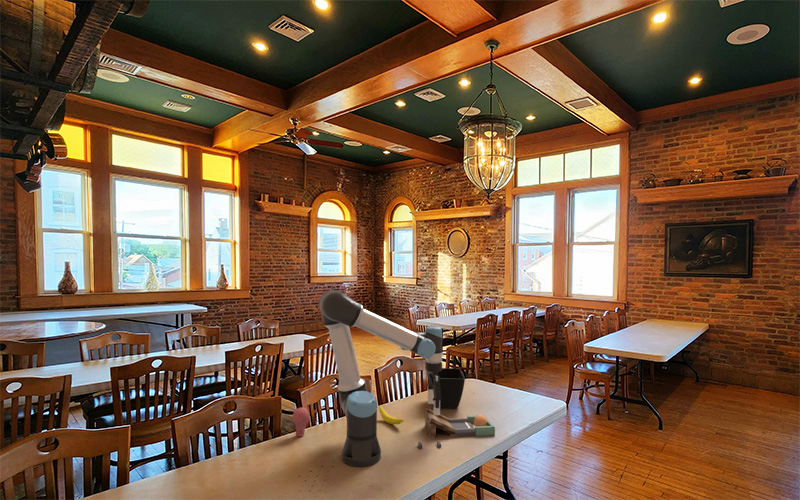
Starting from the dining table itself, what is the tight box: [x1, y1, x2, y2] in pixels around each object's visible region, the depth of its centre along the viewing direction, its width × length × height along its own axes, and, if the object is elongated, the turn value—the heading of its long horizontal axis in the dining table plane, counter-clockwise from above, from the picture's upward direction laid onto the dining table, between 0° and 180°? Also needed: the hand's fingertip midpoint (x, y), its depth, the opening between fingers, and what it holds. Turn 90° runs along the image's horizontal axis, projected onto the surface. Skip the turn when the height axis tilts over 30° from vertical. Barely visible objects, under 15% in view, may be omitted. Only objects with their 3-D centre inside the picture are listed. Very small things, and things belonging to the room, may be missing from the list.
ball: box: [474, 414, 487, 427], centre depth 176 cm, size 6×6×6 cm
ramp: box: [424, 407, 456, 438], centre depth 174 cm, size 12×12×8 cm
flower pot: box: [426, 367, 466, 409], centre depth 207 cm, size 19×19×17 cm
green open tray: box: [466, 414, 496, 437], centre depth 176 cm, size 9×13×4 cm, turn 6°
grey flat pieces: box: [417, 440, 442, 449], centre depth 159 cm, size 9×3×1 cm, turn 96°
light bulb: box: [292, 407, 310, 437], centre depth 168 cm, size 7×7×12 cm
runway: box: [449, 417, 476, 437], centre depth 175 cm, size 10×12×3 cm
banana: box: [378, 404, 405, 425], centre depth 182 cm, size 3×19×6 cm, turn 39°
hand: (433, 409), depth 174 cm, fingers open, 13 cm apart
